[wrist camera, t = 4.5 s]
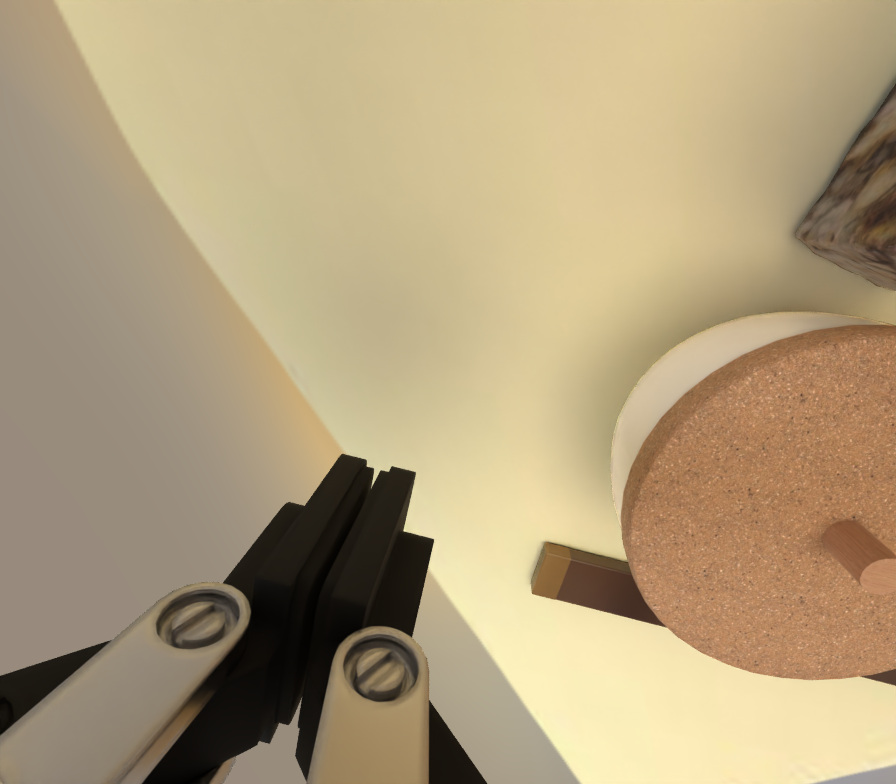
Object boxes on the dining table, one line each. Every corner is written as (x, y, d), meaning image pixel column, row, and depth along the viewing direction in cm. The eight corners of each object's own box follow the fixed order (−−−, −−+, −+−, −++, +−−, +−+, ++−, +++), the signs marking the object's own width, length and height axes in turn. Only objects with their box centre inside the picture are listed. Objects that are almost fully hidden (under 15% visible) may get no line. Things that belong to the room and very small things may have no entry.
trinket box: (789, 551, 22) (978, 780, 13) (554, 494, 22) (585, 680, 13) (925, 320, 18) (1323, 426, 9) (636, 254, 18) (757, 296, 9)
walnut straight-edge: (530, 582, 24) (531, 594, 23) (545, 541, 23) (546, 552, 22) (957, 690, 23) (973, 706, 23) (990, 652, 23) (1007, 668, 22)
